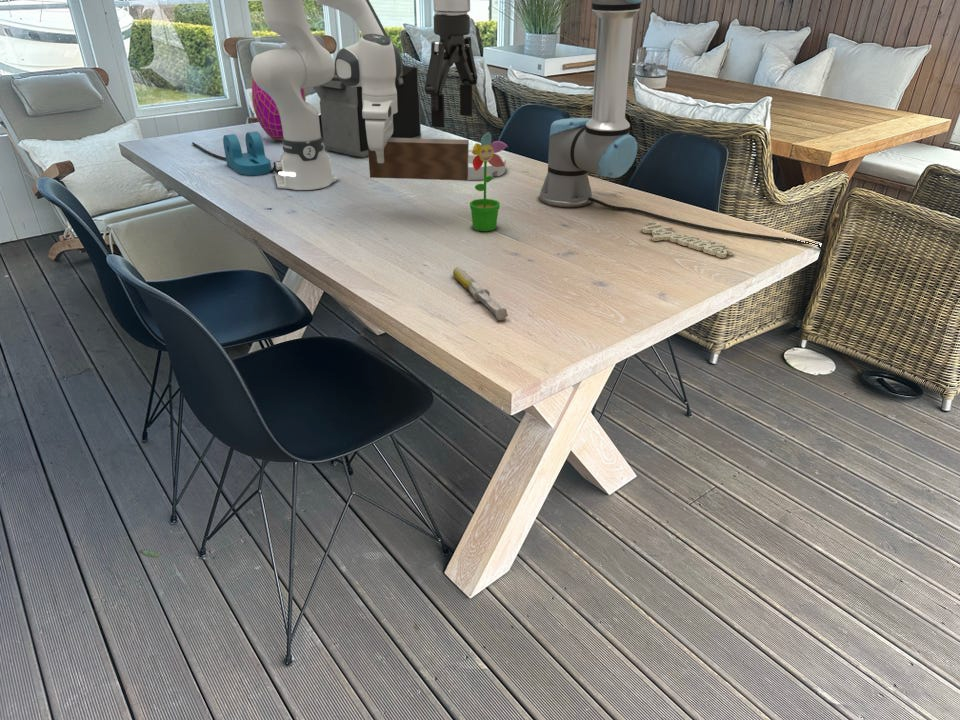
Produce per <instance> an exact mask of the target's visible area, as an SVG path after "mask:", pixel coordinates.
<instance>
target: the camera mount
mask: <svg viewBox="0 0 960 720" xmlns="http://www.w3.org/2000/svg"><path fill="white" fill-rule="evenodd" d="M222 140H223V141H222V143H223V149H224V150H223V151H224V157H225V158H226V160H225V161H226V165H227V166H228V167H230V168H231V169H232V170H234V171H236V172H237V173H238V174H239V175H244V176H260V175H265V174H268V173H271V172H270V170H272V164H271V159H270V158H268V157H267V156H266V153H265V145H264V141H263V139H262V136H261V134H260V132H258V131H247V132H246V133H245V146H246V152H243V151H242V150H243V149H242V146H241V142H240V140H239V138H238V135H236V134H235V133H231V134H224V135H223V138H222Z"/></svg>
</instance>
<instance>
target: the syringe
mask: <svg viewBox="0 0 960 720" xmlns="http://www.w3.org/2000/svg"><path fill="white" fill-rule="evenodd" d="M452 274H453V277H454V279H455V280H457V281H458V282H459V283H460V285H462V287H464V289H466V290H467V291H468V293H470V295H471V296H472V298H473V300H474V302H477V303H478V302H480V303H482V304H483V305H484V306H485V307H486V308H487V309H488V310H489V311H490V312H491V313H492V314H493V315H494V316H495V317H496V320H497V321H503V320H504V319H506V318H507V317H509V314H508V310H507V308H506V307H502V306H501V305H500V303H498V302H497V301H496V300H494V299H493V298H492V297H491V296H490V295H491V293H490V290H488V289H486V288H483V287H482V286H481V285H480V284H479V283H478V282H477V281H476V280H474V278H473V277H471V275H469V274H468V273H467V272H466V270H465V269H464V268H463V267H462V266H456V267H454V268H453V271H452Z"/></svg>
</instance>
